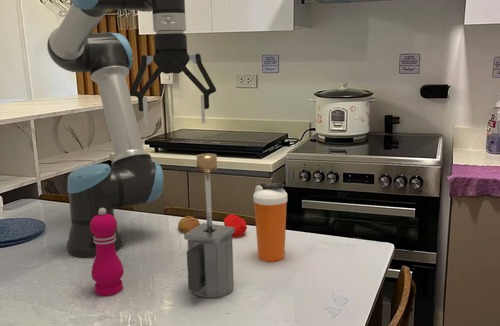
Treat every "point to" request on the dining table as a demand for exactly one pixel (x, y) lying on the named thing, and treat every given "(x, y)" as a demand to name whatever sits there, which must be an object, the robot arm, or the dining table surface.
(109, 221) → the pepper mill
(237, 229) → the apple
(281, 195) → the shaker bottle
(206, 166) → the plunger
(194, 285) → the faceted grey canister
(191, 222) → the pastry
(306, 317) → the dining table surface
